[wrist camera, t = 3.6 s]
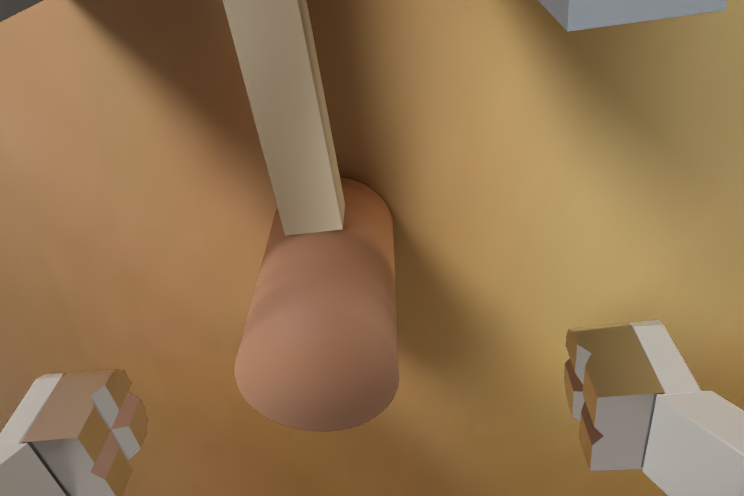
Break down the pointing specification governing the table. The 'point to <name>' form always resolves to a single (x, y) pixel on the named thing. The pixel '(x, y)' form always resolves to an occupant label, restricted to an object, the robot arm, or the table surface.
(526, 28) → the table surface
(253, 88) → the wooden mallet
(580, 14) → the grey u-shaped bracket
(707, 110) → the table surface
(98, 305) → the table surface
